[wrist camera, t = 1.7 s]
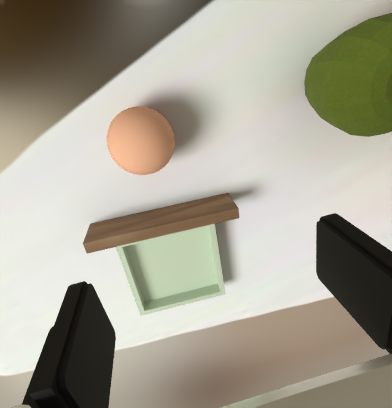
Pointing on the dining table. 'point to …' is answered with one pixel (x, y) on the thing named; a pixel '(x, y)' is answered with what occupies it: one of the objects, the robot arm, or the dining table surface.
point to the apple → (355, 79)
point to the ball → (140, 140)
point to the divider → (160, 222)
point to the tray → (173, 269)
